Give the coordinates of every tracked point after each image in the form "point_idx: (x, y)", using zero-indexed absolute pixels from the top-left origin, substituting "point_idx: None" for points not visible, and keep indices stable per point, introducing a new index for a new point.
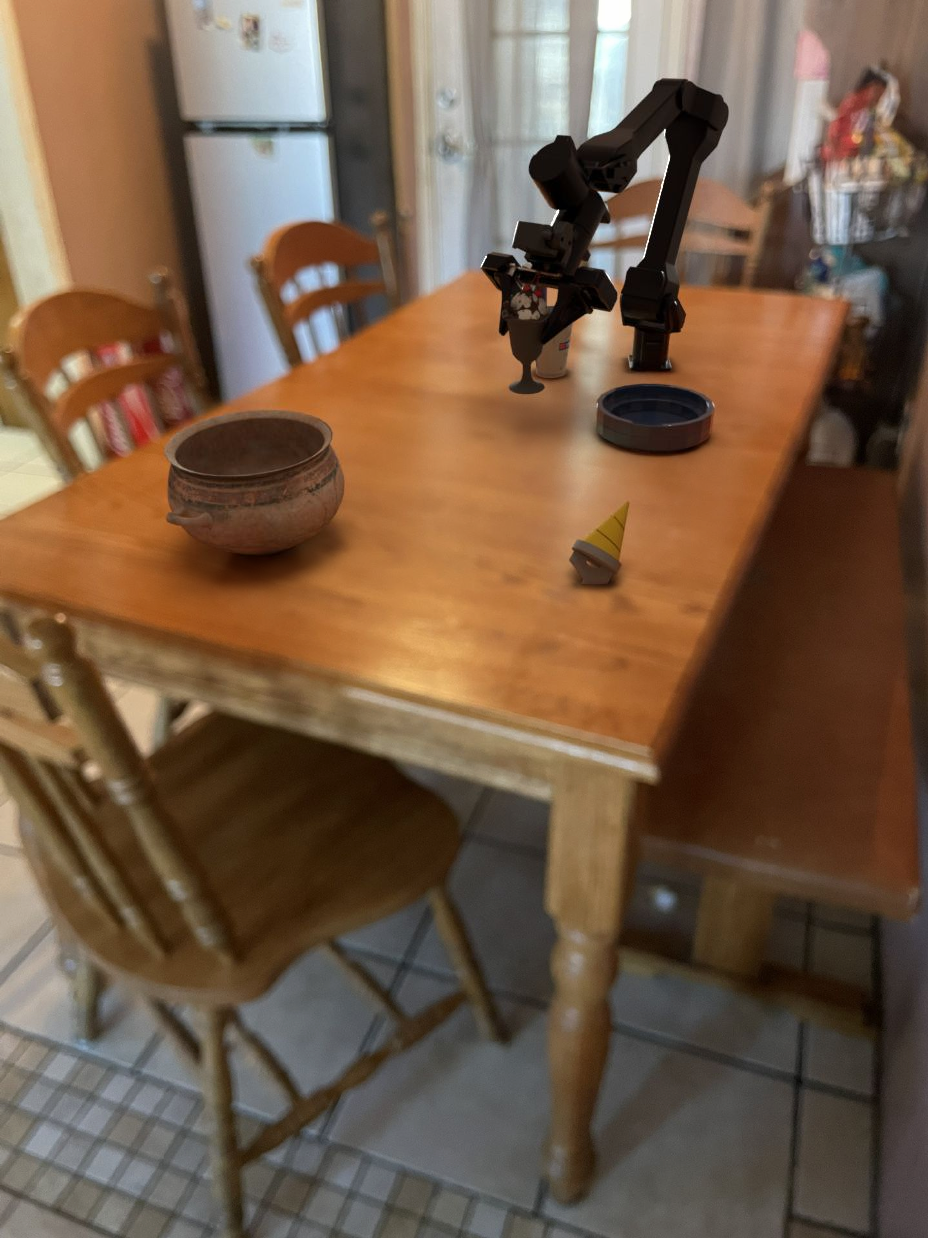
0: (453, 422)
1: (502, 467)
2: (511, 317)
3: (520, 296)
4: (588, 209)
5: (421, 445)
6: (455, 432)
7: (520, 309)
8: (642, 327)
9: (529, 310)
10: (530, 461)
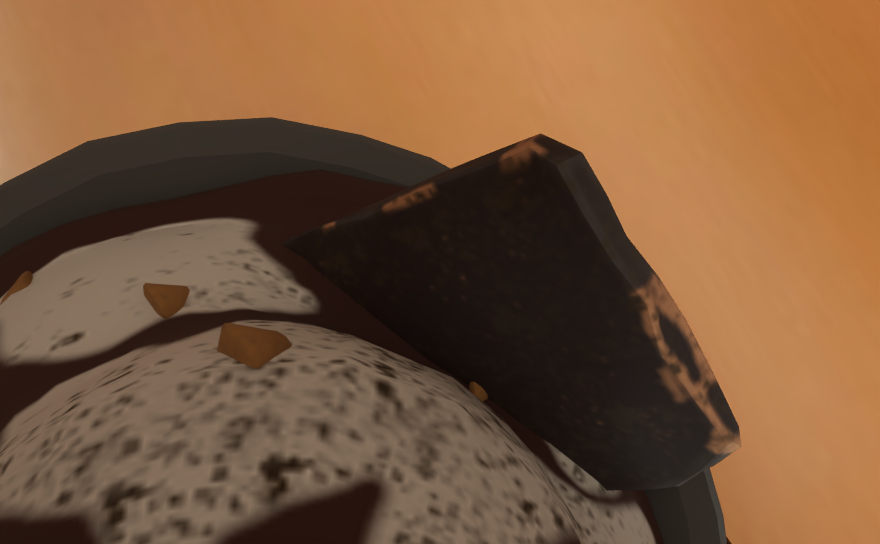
0: (730, 382)
1: (264, 8)
2: (385, 196)
3: (266, 458)
4: None
5: (714, 74)
6: None
7: (238, 306)
8: None
9: (38, 358)
10: (169, 113)
